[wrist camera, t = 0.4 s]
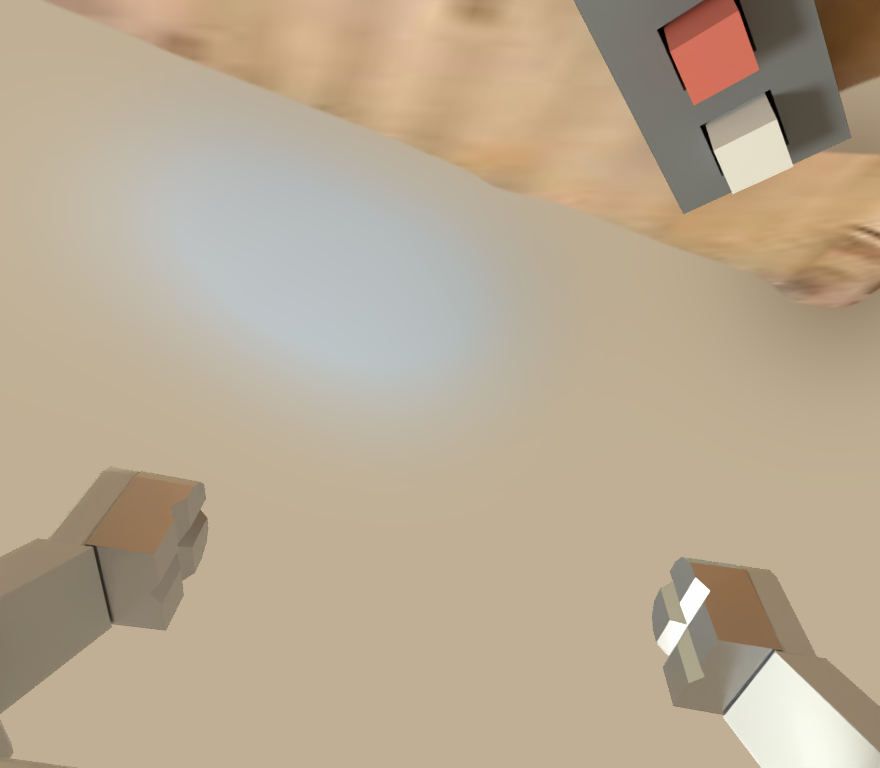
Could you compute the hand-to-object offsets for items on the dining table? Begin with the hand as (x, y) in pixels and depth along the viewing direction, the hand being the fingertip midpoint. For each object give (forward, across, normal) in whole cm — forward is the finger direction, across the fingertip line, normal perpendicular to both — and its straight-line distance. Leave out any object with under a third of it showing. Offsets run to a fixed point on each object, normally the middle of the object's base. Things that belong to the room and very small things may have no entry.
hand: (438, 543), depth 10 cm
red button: (+45, -16, -8) cm, 48 cm away
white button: (+47, -22, -2) cm, 51 cm away
